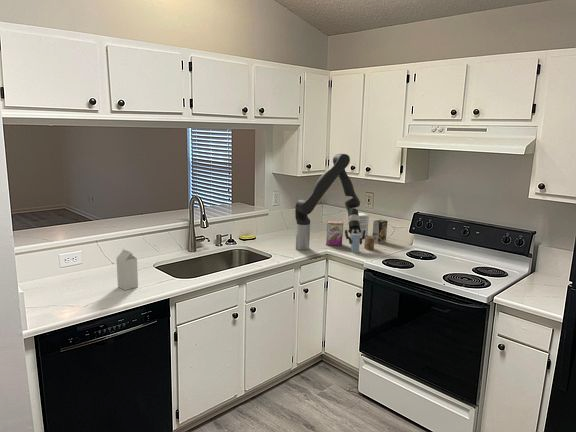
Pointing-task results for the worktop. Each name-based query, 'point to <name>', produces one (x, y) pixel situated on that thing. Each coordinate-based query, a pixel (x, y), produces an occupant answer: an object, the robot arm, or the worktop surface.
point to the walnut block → (369, 243)
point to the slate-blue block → (355, 243)
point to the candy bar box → (334, 233)
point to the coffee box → (379, 231)
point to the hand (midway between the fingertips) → (355, 244)
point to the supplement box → (363, 222)
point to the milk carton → (127, 270)
